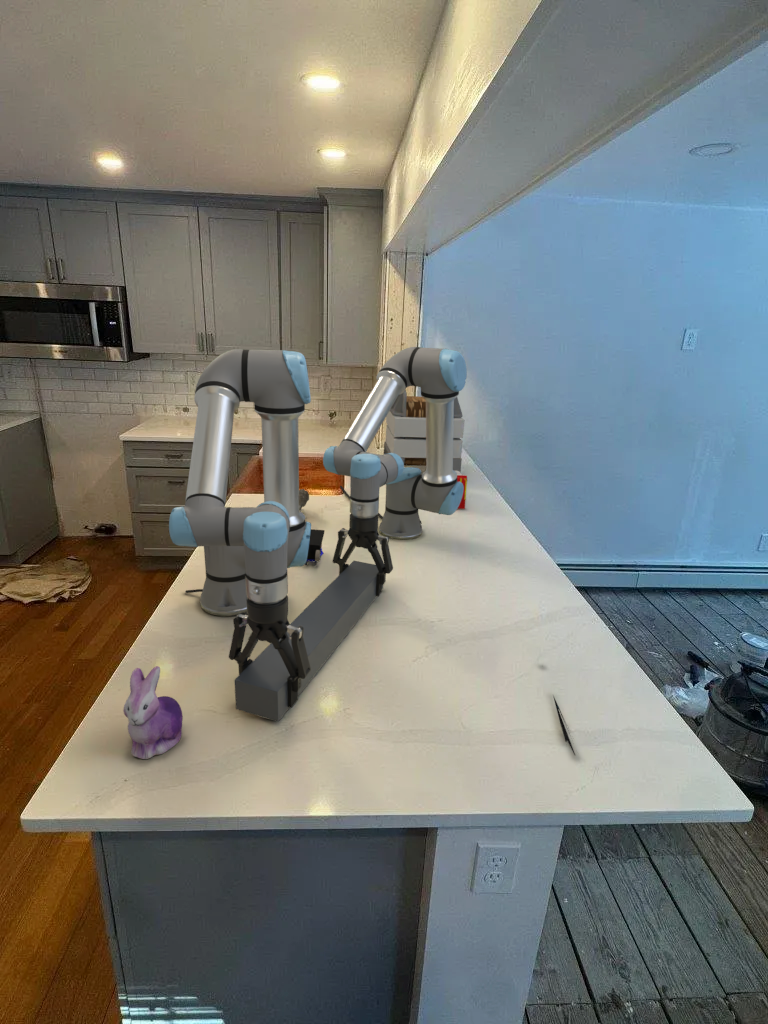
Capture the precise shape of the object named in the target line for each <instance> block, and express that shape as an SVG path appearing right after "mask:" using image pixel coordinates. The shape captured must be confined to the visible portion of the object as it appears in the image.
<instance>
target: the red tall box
mask: <svg viewBox="0 0 768 1024" xmlns="http://www.w3.org/2000/svg"><path fill="white" fill-rule="evenodd" d="M455 472H456V473H457V482H459V481H460V482H461V483H462V484H463V486H464V490H463V496H462V499H461V502H460V504H459V506H458V508H457V510H465V509H466V500H467V489H468V488H467V487H468V475H466V474H465V475H464V474H463V473H460V472H459V471H455Z"/></svg>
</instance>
